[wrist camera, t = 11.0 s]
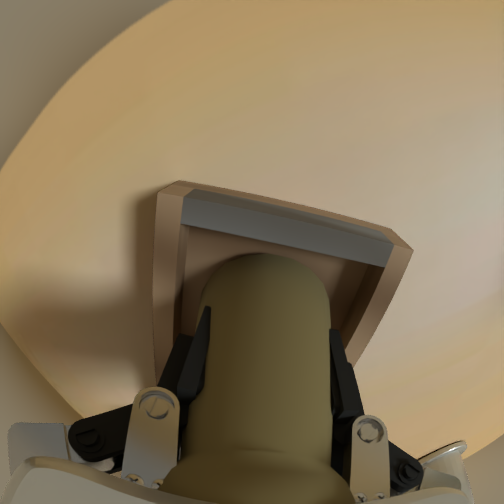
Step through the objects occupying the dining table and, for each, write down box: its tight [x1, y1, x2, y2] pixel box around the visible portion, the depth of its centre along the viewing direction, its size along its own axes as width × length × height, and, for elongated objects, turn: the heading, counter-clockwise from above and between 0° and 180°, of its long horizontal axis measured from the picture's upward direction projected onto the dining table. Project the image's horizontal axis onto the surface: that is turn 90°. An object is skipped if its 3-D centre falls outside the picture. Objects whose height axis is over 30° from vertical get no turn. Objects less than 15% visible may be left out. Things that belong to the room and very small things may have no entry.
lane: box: [153, 180, 414, 452], centre depth 13 cm, size 21×10×6 cm, turn 169°
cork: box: [158, 254, 356, 504], centre depth 7 cm, size 6×6×11 cm
